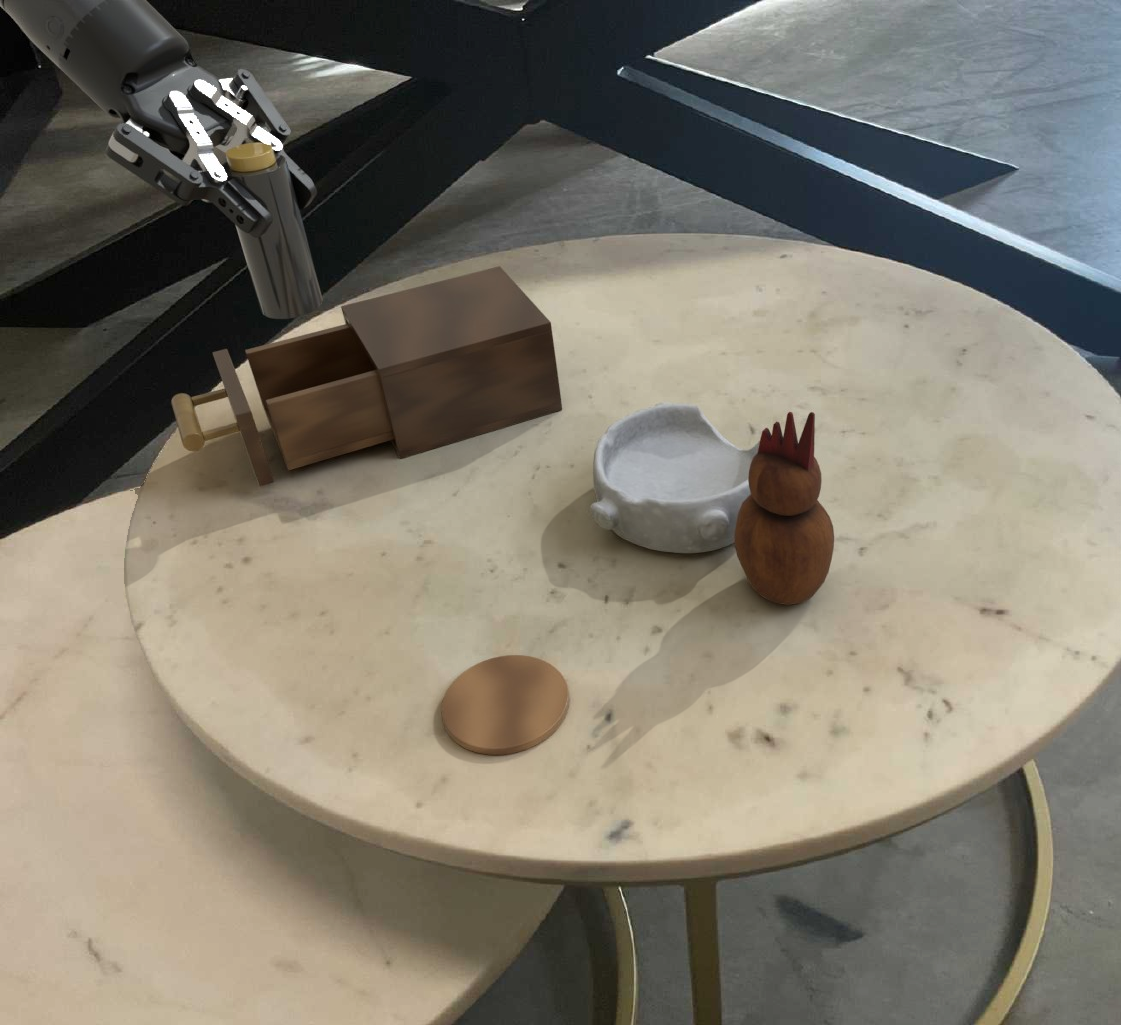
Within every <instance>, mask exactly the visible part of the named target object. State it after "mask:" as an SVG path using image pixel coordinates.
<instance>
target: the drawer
mask: <svg viewBox="0 0 1121 1025" xmlns="http://www.w3.org/2000/svg"><path fill="white" fill-rule="evenodd" d="M244 352H245V355H246V358H247V361H248V364H249V367H250V371H251V374H252V376H253V380H254V383H255V386H256V390H257V392H258V395H259V399H260V402H261V404H262V408H263V411H264V414H265V416H266V419H267V422H268V423H269V426H270V428H271V431H272V434H273V436H274V439H275V441H276V443H277V446H278V449H279V451H280V453H281V456H282V457H283V461H284V463H285V465H286V468H287V471H291V470H295V469H298V468H301V467H305V466H308V465H311V464H314V463H315V464H316V463H319V462H322V461H325V460H329V459H332V458H335V457H338V456H339V457H340V456H342V455H346V454H348V453H352V452H355V451H359V450H363V449H365V448H368V447H369V448H370V447H372V446H376V445H379V444H382V443H386V442H389V441H390V440H393V439H394V437H393V433H392V429H391V424H390V420H389V416H388V412H387V408H386V404H385V400H384V396H383V392H382V388H381V384H380V380H379V376H378V373H377V371H376V369H375V367H374V366H373V364H372V362H371V361H370V359H369V357H368V356H367V354H366V352H365V351H364V349H363V347H362V345H361V344H360V342H359V340H358V339H357V337H356V335H355V334H354V332H353V330H352V328H351V327H350V325H349V323H348V324H345V323H344V324H340V325H336V326H332V327H328V328H324V329H322V330H318V331H314V332H309V333H306V334H305V333H304V334H302V335H297V336H295V337H290V338H285V339H283V340H279V341H274V342H271V343H267V344H263V345H259V346H256V347H252V348H251V347H250V348H248V349H245V350H244ZM212 357H213V359H214V362H215V365H216V367H217V370H218V374H219V376H220V380H221V382H222V385H223V388H221V389H217V390H213V391H209V392H206V393H205V392H204V393H201V394H199V395H195V396H190V395H189V394H187V393H182V392H180V393H177V394H175V395H174V396H173V397H172V398H171V407H172V411H173V413H174V418H175V421H176V426H177V428H178V432H179V436H180V440H181V443H182V446H183V448H184V449H186V450H187V451H189V452H197V451H200V450H201V449H203V447H204V446H205V443H206V442H207V441H211V440H215V439H219V438H222V437H225V436H229V435H233V434H237V433H239V434H240V437H241V439H242V443H243V445H244V448H245V451H246V453H247V456H248V459H249V462H250V464H251V468H252V471H253V474H254V476H255V478H256V481H257V485H258V487H260V488H261V487H265V486H267V485H271V484H274V483H275V479H274V476H273V474H272V471H271V467H270V464H269V461H268V458H267V455H266V452H265V449H264V446H263V442H262V440H261V437H260V434H259V431H258V428H257V425H256V422H255V419H254V416H253V413H252V409H251V408H250V405H249V403H248V400H247V397H246V395H245V392H244V389H243V386H242V384H241V382H240V379H239V376H238V374H237V372H236V369H235V366H234V364H233V361H232V358H231V356H230V353H229V350H228V348H223V349H220V350H217V351H216V350H215V351H213V352H212ZM223 399H228V403H229V405H230V409H231V411H232V415H233V417H234V421H235V422H233V423H229V424H225V425H222V426H218V427H215V428H212V429H208V430H204V431H203V430H202V427H201V424H200V421H199V417H198V415H197V411H196V408H195V407H196V406H197V407H198V406H200V405H204V404H208V403H211V402H215V401H219V400H223Z"/></svg>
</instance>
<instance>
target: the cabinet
mask: <svg viewBox="0 0 1121 1025" xmlns="http://www.w3.org/2000/svg"><path fill="white" fill-rule="evenodd" d="M340 308H341V312H342V315H343V320H344V324H348V323H349V325H350V327H351V328H352V330H353V332H354V334H355V335H356V337H357V339H358V340H359V342H360V344H361V345H362V347H363V349H364V351H365V352H366V354H367V356H368V357H369V359H370V361H371V362H372V364H373V366H374V367H375V369H376V371H377V373H378V376H379V380H380V384H381V388H382V392H383V396H384V400H385V404H386V408H387V412H388V416H389V420H390V424H391V429H392V433H393V437H394V439H393V440H389V441H390V442H391V444H392V446H393V448H394V450H395V452H396V454H397V455H398V458H399V459H405V458H408V457H411V456H415V455H417V454H421V453H424V452H428V451H431V450H435V449H438V448H441V447H444V446H447V445H451V444H454V443H458V442H461V441H463V440H467V439H470V438H474V437H477V436H480V435H483V434H487V433H490V432H494V431H497V430H500V429H503V428H507V427H510V426H513V425H516V424H520V423H523V422H526V421H530V420H533V419H537V418H539V417H543V416H546V415H549V414H553V413H557V412H560V411H563V404H562V395H561V388H560V387H561V386H560V380H559V372H558V367H557V366H558V365H557V358H556V357H557V356H556V350H555V344H554V335H553V328H552V322H551V320H550V319H549V318H547V316H546V315H545V314H544V313H543V312H542V311H541V310H540V309H539V308H538V306H537V305H536V304H535V303H534V302H533V301H532V300H531V299H530V297H529V296H528V295H527V294H526V293H525V292H524V291H523V290H522V289H521V288H520V286H519V285H517V283H516V282H515V281H514V280H513V279H512V278H511V277H510V275H509V274H508V273H507V272H506V271H505V270H504V269H503V268H502V266H500V265H499V266H494V267H492V268H487V269H483V270H479V271H476V272H471V273H468V274H463V275H460V276H454V277H451V278H447V279H443V280H440V281H435V282H431V283H428V284H424V285H420V286H416V287H412V288H408V289H404V290H399V291H395V292H392V293H388V294H384V295H380V296H376V297H373V298H367V299H364V300H359V301H356V302H352V303H349V304H344V305H341V306H340Z"/></svg>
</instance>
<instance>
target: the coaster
mask: <svg viewBox="0 0 1121 1025" xmlns="http://www.w3.org/2000/svg"><path fill="white" fill-rule="evenodd" d="M570 699H571V698H570V691H569V687H568V683H567V681H566V678H565V677H564V676H563V674H562V673H561V672H560V671H559V670H558V669H557V668H556V667H555V666H554V665H552V664H551V663H550V662H547V661H546V660H544V659H541V658H538V657H535V656H531V655H524V654H510V655H509V654H508V655H507V654H506V655H501V656H496V657H493V658H488V659H486V660H485V659H484V660H483V661H480V662H478V663H476V664H474V665H472V666H471V667H469V668H466V669H465V671H463V672H461V673H460V675H458V676H457V677H456V678H455V679H454V680H453V681H452V682H451V684H449V686H448V688H447V690H446V691H445V693H444V696H443V699H442V703H441V710H440V711H441V712H440V713H441V719H442V723H443V725H444V729H445V731H446V733H447V734H448V736H449V737H450V738H451V739H452V741H454V742H455V743H456V744H458V745H459V746H460V747H462V748H463V749H466V750H468V751H470V752H473V753H476V754H482V755H488V756H502V755H511V754H515V753H519V752H522V751H526V750H528V749H531V748H533V747H535V746H537V745H539V744H541V743H542V742H544V741H545V740H547V739H548V738H549V737H551V736H552V735H553V734H554V733H555V732H557V730H558V728H559V727H560V726H561V725H562V723H563V721H564V720H565V719H566V716H567V714H568V711H569V707H570Z"/></svg>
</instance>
